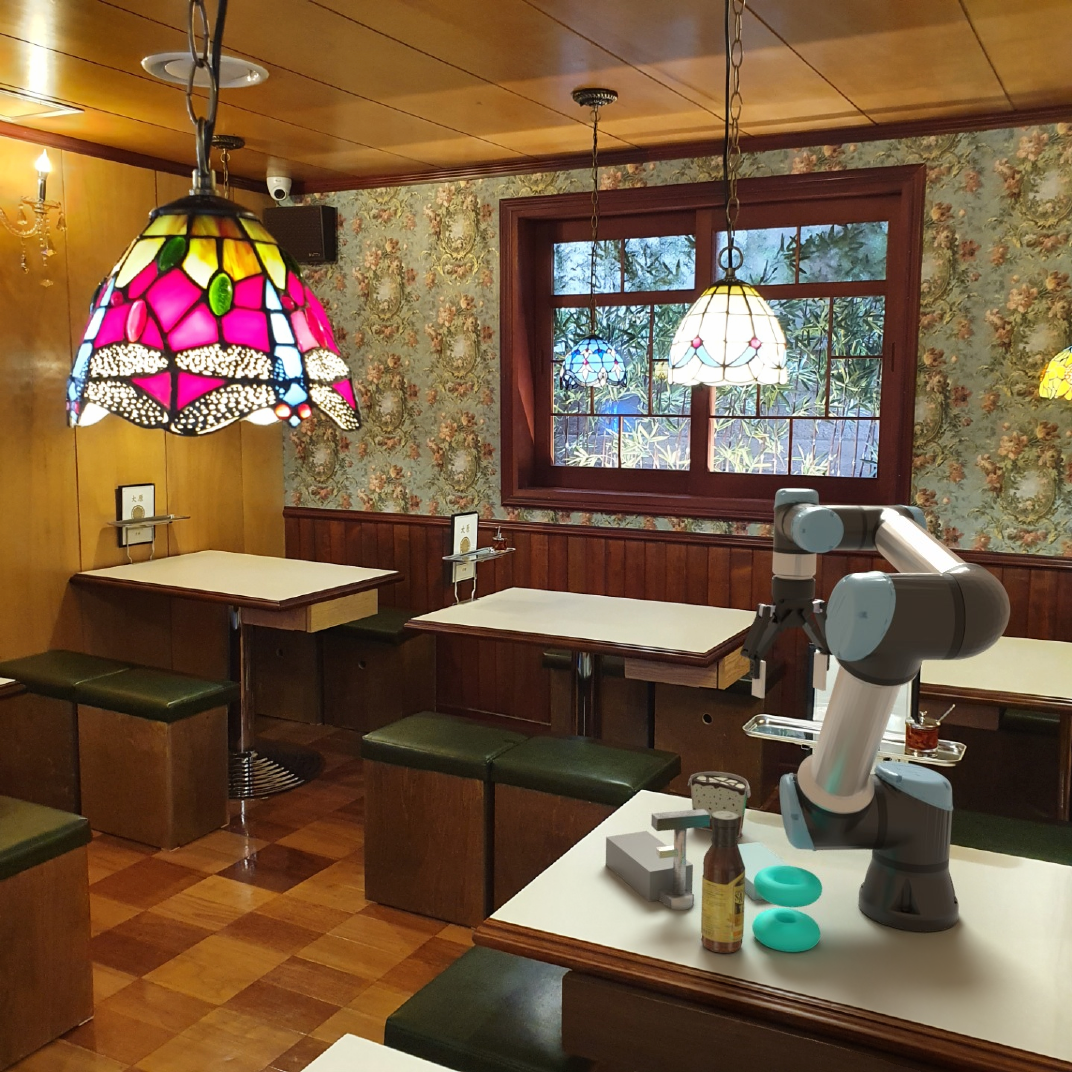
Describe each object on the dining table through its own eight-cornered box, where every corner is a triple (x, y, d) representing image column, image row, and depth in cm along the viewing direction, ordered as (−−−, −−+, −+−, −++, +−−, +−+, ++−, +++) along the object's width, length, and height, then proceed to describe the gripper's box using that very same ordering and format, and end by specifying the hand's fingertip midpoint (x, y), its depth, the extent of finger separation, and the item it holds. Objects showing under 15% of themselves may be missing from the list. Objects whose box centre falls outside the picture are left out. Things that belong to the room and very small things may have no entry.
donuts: (804, 860, 169) (834, 887, 159) (801, 921, 170) (832, 952, 160) (743, 864, 167) (770, 892, 157) (741, 927, 168) (768, 958, 158)
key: (701, 886, 178) (703, 809, 177) (707, 892, 176) (710, 814, 174) (649, 891, 176) (651, 813, 174) (655, 898, 173) (657, 819, 172)
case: (707, 905, 175) (707, 875, 175) (663, 913, 172) (664, 883, 172) (646, 858, 194) (646, 830, 194) (605, 864, 191) (606, 836, 191)
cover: (806, 896, 180) (807, 878, 180) (754, 902, 178) (754, 885, 178) (759, 858, 196) (759, 841, 196) (710, 863, 194) (710, 847, 193)
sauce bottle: (742, 957, 158) (746, 825, 156) (699, 953, 160) (703, 821, 158) (743, 937, 165) (747, 809, 163) (701, 932, 166) (705, 806, 164)
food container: (759, 828, 209) (760, 778, 208) (747, 839, 204) (748, 787, 203) (699, 816, 216) (700, 766, 215) (686, 825, 211) (687, 775, 210)
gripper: (835, 569, 202) (830, 681, 205) (722, 576, 192) (719, 694, 194) (863, 574, 195) (857, 690, 198) (748, 582, 185) (744, 704, 187)
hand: (789, 692), depth 196 cm, fingers open, 13 cm apart
